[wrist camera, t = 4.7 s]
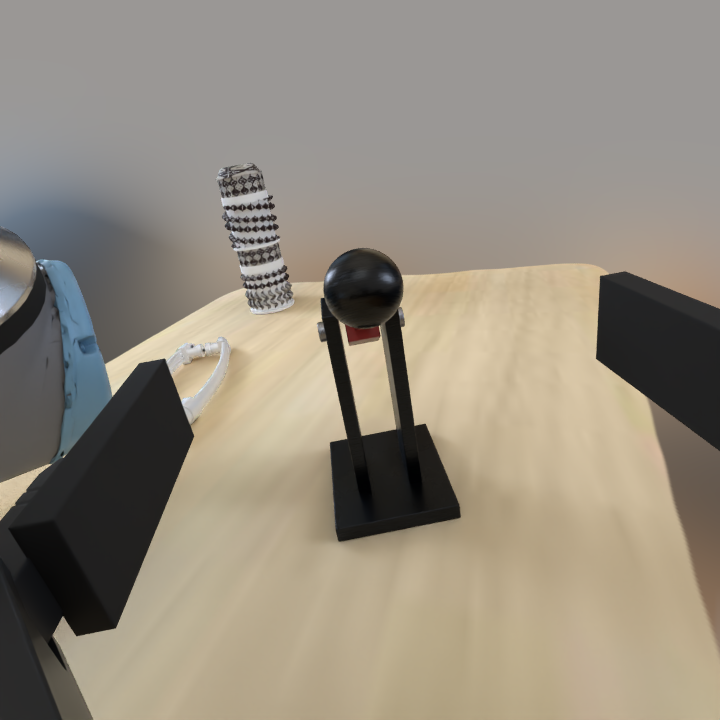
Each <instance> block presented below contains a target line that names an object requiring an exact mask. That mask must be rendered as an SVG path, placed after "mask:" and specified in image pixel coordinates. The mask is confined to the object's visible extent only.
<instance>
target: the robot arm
mask: <svg viewBox="0 0 720 720" xmlns="http://www.w3.org/2000/svg"><path fill="white" fill-rule="evenodd" d="M596 359H597V360H598V361H600V362H601V363H602V364H604V365H605V366H606V367H608V368H609V369H610V370H612V371H613V372H614V373H616V374H617V375H618V376H620V377H621V378H622V379H624V380H625V381H626V382H628V383H629V384H631V385H632V386H633V387H635V388H636V389H637V390H639V391H640V392H641V393H643V394H644V395H645V396H647V397H648V398H649V399H651V400H652V401H653V402H655V403H656V404H657V405H659V406H660V407H661V408H663V409H664V410H666V411H667V412H668V413H669V414H671V415H673V417H675V418H676V419H678V420H679V421H680V422H682V423H683V424H684V425H686V426H687V427H688V428H690V429H691V430H692V431H694V432H695V433H696V434H698V435H699V436H700V437H702V438H703V439H704V440H706V441H707V442H708V443H710V444H711V445H712V446H714V447H715V448H717V449H718V450H719V451H720V309H719V308H716V307H714V306H711V305H708V304H706V303H703V302H701V301H698V300H696V299H693V298H691V297H688V296H686V295H683V294H681V293H678V292H676V291H673V290H671V289H668V288H666V287H663V286H661V285H658V284H656V283H653V282H651V281H648V280H646V279H643V278H640V277H638V276H635V275H633V274H630V273H628V272H620V273H614V274H609V275H604V276H600V290H599V310H598V331H597V351H596ZM193 438H194V434H193V432H192V429H191V426H190V424H189V421H188V418H187V416H186V413H185V410H184V408H183V405H182V402H181V400H180V397H179V394H178V392H177V389H176V386H175V384H174V381H173V378H172V376H171V373H170V370H169V368H168V365H167V362H166V360H165V359H160V360H155V361H150V362H144V363H139V364H138V366H137V367H136V368H135V369H134V371H133V372H132V373H131V374H130V376H129V377H128V378H127V379H126V381H125V382H124V383H123V385H122V386H121V387H120V388H119V390H118V391H117V392H116V393H115V395H114V396H113V397H112V392H111V387H110V383H109V379H108V375H107V371H106V367H105V364H104V361H103V357H102V354H101V351H100V349H99V347H98V345H97V344H96V336H95V333H94V330H93V325H92V321H91V318H90V315H89V313H88V309H87V307H86V304H85V301H84V298H83V296H82V293H81V291H80V289H79V286H78V283H77V281H76V279H75V277H74V275H73V273H72V271H71V270H70V268H69V267H68V266H67V265H66V264H65V263H64V262H62V261H55V260H54V261H48V260H38V261H36V260H35V258H34V256H33V254H32V252H31V251H30V248H29V247H28V246H27V245H26V244H25V242H24V241H23V240H22V239H21V238H20V237H19V236H17V235H16V234H15V233H13V232H11V231H9V230H8V229H6V228H3V227H1V226H0V483H1V482H4V481H6V480H9V479H11V478H14V477H16V476H19V475H21V474H24V473H27V472H29V471H32V470H34V469H37V468H39V467H42V466H44V465H47V464H52V465H51V466H49V467H48V468H47V469H45V470H44V471H43V472H41V473H40V474H39V475H38V476H37V478H36V479H35V480H34V481H33V482H32V484H31V485H30V486H29V487H28V488H27V490H26V491H27V492H26V493H23V494H22V496H21V497H20V498H19V499H18V500H17V502H16V503H15V504H16V506H13V507H12V508H11V509H10V510H9V511H8V512H7V514H6V515H5V516H4V517H3V518H2V520H1V521H0V720H93V718H92V716H91V713H90V711H89V709H88V707H87V705H86V702H85V700H84V698H83V696H82V694H81V691H80V689H79V687H78V685H77V683H76V680H75V678H74V676H73V674H72V672H71V669H70V667H69V665H68V663H67V661H66V658H65V656H64V654H63V652H62V650H61V647H60V646H59V644H58V643H57V641H56V640H55V638H54V637H53V633H54V631H55V629H56V628H57V626H58V624H59V622H60V620H61V618H62V616H64V618H65V619H66V621H67V622H68V624H69V626H70V627H71V629H72V630H73V632H74V633H75V635H76V636H80V635H85V634H90V633H95V632H100V631H105V630H110V629H115V628H116V627H117V624H118V622H119V620H120V617H121V615H122V612H123V610H124V607H125V605H126V602H127V600H128V597H129V595H130V592H131V590H132V588H133V585H134V583H135V580H136V578H137V575H138V573H139V570H140V568H141V565H142V563H143V561H144V558H145V556H146V553H147V551H148V548H149V546H150V543H151V541H152V538H153V536H154V534H155V531H156V529H157V526H158V524H159V521H160V519H161V516H162V514H163V511H164V509H165V506H166V504H167V502H168V499H169V497H170V494H171V492H172V489H173V487H174V484H175V482H176V479H177V477H178V475H179V472H180V470H181V467H182V465H183V462H184V460H185V457H186V455H187V452H188V450H189V448H190V445H191V443H192V440H193ZM66 454H67V455H66ZM64 455H66V456H65V457H64V458H63V456H64Z"/></svg>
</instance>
